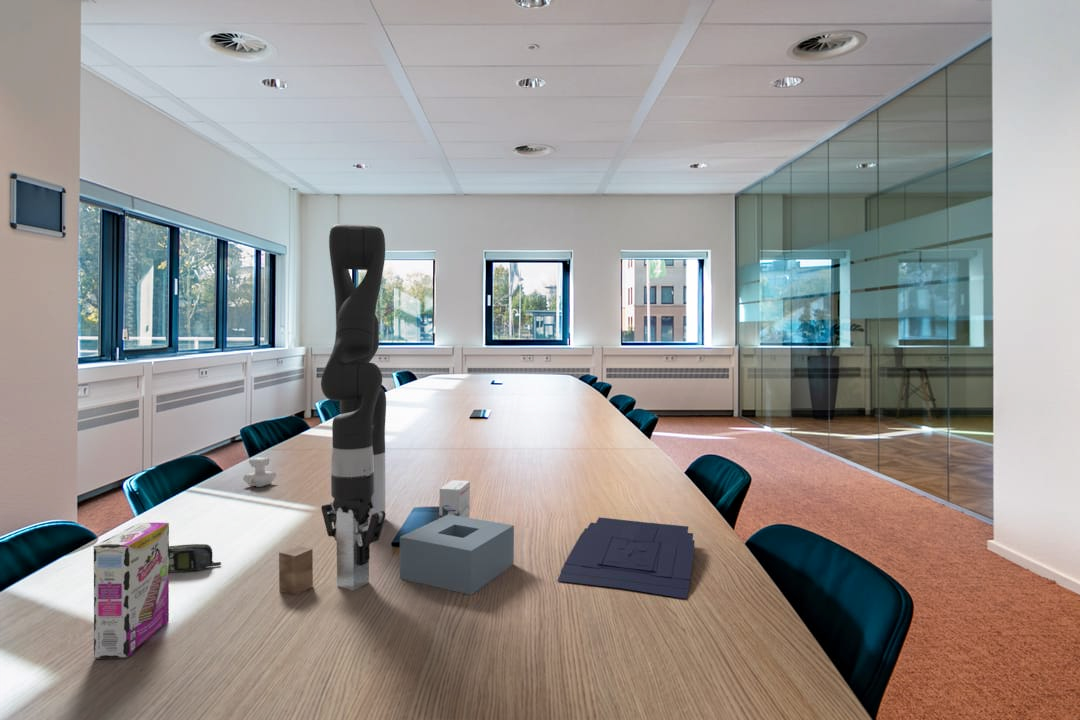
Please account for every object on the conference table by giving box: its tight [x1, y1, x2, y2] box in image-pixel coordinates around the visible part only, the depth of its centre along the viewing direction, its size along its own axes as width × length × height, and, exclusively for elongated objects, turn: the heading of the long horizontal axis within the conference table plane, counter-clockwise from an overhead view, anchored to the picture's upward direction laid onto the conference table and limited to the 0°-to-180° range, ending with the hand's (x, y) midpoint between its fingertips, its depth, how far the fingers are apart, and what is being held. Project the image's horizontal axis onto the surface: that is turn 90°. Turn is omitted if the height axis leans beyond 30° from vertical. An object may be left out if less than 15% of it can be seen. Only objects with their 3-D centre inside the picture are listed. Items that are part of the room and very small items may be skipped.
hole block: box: [399, 515, 515, 596], centre depth 116 cm, size 16×16×8 cm
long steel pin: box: [336, 511, 370, 591], centre depth 110 cm, size 4×4×14 cm
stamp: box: [243, 456, 277, 488], centre depth 181 cm, size 9×7×8 cm
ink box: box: [438, 479, 471, 519], centre depth 138 cm, size 9×5×12 cm, turn 168°
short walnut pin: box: [278, 545, 314, 596], centre depth 108 cm, size 4×4×7 cm
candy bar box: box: [93, 522, 170, 660], centre depth 89 cm, size 11×5×16 cm, turn 5°
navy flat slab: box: [556, 517, 695, 599], centre depth 122 cm, size 24×30×4 cm
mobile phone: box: [169, 543, 222, 574], centre depth 116 cm, size 5×3×15 cm
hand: (353, 561), depth 110 cm, fingers closed on long steel pin, 4 cm apart
